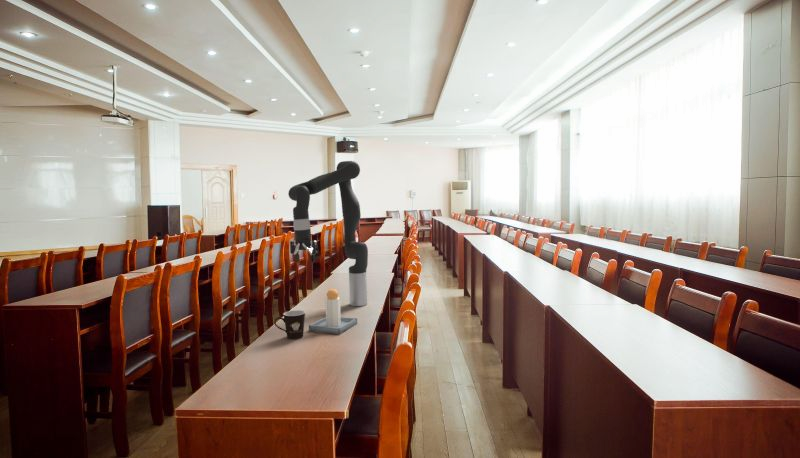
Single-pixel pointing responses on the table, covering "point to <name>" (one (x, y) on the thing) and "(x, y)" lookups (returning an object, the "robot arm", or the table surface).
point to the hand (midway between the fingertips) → (305, 262)
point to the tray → (321, 327)
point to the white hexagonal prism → (333, 312)
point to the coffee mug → (293, 324)
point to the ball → (332, 294)
